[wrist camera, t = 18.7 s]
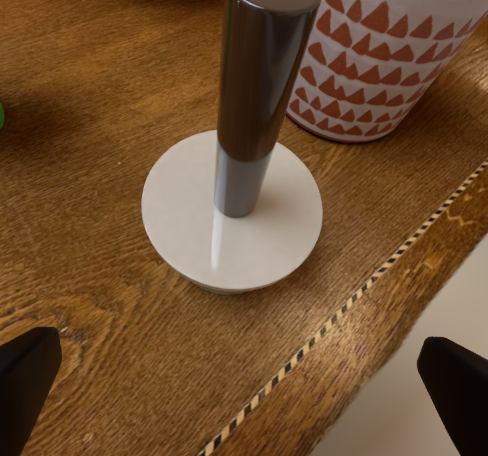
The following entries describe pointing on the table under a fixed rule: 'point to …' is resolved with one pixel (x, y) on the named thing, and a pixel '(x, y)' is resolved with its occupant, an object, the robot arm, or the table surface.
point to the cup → (1, 116)
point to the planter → (375, 62)
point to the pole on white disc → (241, 163)
